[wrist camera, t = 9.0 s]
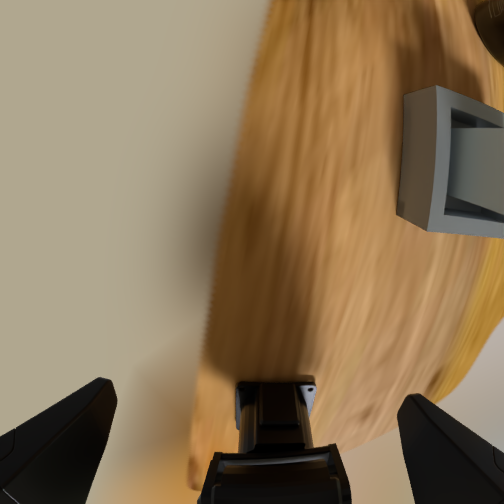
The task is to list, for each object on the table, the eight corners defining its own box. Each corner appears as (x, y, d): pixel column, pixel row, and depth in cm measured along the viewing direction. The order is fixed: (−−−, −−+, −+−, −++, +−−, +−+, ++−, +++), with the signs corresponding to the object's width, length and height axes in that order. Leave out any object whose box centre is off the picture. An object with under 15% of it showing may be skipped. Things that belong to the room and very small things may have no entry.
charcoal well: (478, 223, 17) (511, 239, 14) (396, 214, 17) (427, 231, 14) (487, 122, 15) (522, 122, 11) (403, 95, 15) (436, 85, 11)
